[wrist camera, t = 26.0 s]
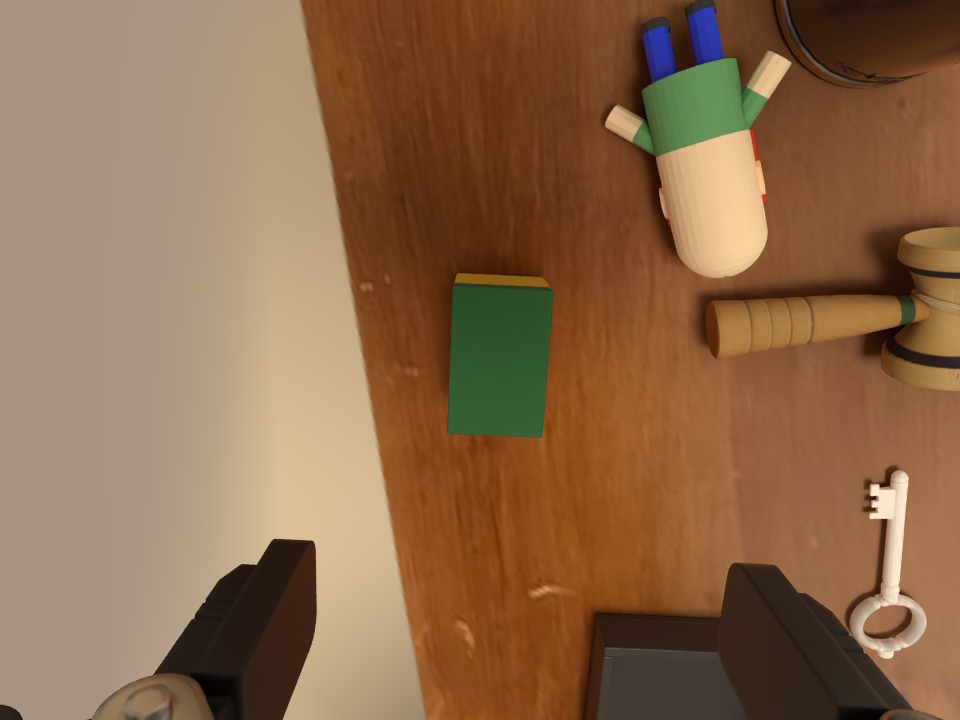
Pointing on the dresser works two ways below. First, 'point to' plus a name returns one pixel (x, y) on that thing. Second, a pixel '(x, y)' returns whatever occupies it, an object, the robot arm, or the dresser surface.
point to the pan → (658, 670)
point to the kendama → (864, 317)
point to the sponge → (499, 355)
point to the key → (890, 571)
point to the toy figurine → (704, 144)
